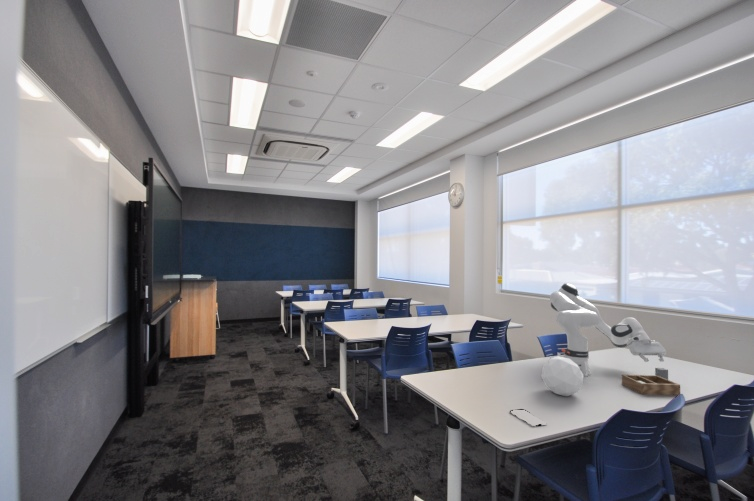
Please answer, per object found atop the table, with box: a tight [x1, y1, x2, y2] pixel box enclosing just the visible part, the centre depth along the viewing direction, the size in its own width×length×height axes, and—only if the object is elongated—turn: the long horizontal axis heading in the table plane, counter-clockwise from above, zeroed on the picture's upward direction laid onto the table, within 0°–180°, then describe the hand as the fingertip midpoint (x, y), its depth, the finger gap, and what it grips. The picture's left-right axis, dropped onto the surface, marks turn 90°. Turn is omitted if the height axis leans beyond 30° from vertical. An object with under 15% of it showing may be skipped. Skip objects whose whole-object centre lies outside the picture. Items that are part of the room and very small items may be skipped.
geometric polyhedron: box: [540, 355, 584, 397], centre depth 183 cm, size 19×20×20 cm
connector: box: [654, 367, 669, 380], centre depth 200 cm, size 5×4×9 cm
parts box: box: [621, 374, 681, 396], centre depth 190 cm, size 20×15×6 cm
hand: (654, 361), depth 209 cm, fingers open, 8 cm apart
